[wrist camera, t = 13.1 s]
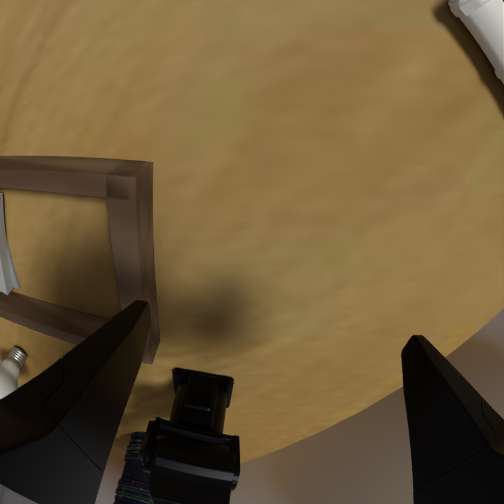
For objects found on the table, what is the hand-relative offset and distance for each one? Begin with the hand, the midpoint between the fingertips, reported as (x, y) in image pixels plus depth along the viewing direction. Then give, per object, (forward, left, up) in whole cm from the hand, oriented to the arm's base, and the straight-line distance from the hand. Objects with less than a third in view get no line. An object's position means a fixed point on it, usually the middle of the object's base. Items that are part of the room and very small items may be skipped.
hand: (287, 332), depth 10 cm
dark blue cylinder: (-48, +12, -12) cm, 51 cm away
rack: (-8, +19, -12) cm, 24 cm away
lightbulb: (-28, +32, -12) cm, 44 cm away
